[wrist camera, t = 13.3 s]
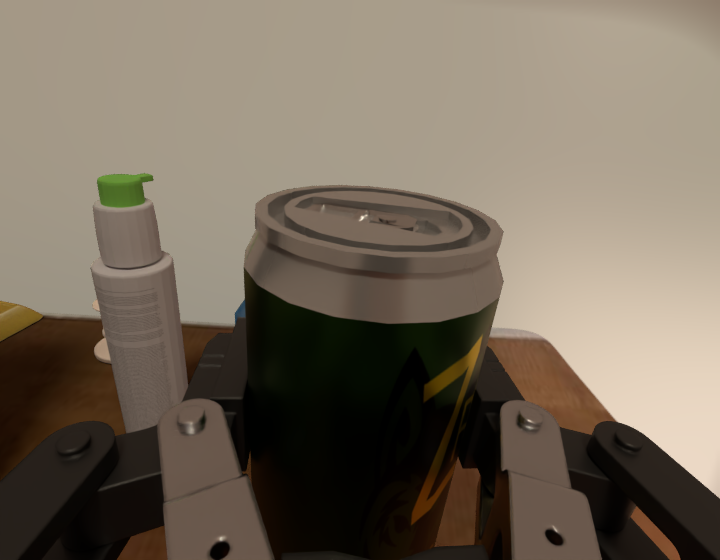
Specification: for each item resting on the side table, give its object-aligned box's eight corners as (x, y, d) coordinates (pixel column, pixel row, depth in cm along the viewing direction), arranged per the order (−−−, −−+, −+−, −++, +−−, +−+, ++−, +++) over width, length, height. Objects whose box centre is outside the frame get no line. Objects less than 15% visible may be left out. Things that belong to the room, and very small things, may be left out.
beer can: (220, 635, 11) (175, 227, 6) (295, 478, 16) (304, 174, 11) (408, 710, 10) (534, 292, 5) (429, 518, 15) (506, 203, 10)
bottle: (205, 444, 31) (177, 182, 22) (145, 478, 28) (86, 190, 19) (178, 413, 33) (144, 167, 25) (121, 441, 30) (60, 173, 22)
